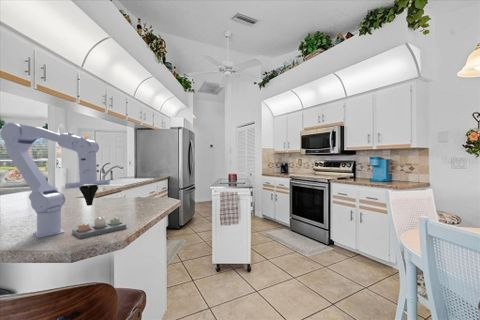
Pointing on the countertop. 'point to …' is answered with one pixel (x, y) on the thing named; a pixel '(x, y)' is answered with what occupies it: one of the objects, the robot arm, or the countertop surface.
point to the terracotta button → (83, 227)
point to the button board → (98, 230)
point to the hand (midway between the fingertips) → (89, 205)
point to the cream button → (100, 222)
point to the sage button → (114, 221)
